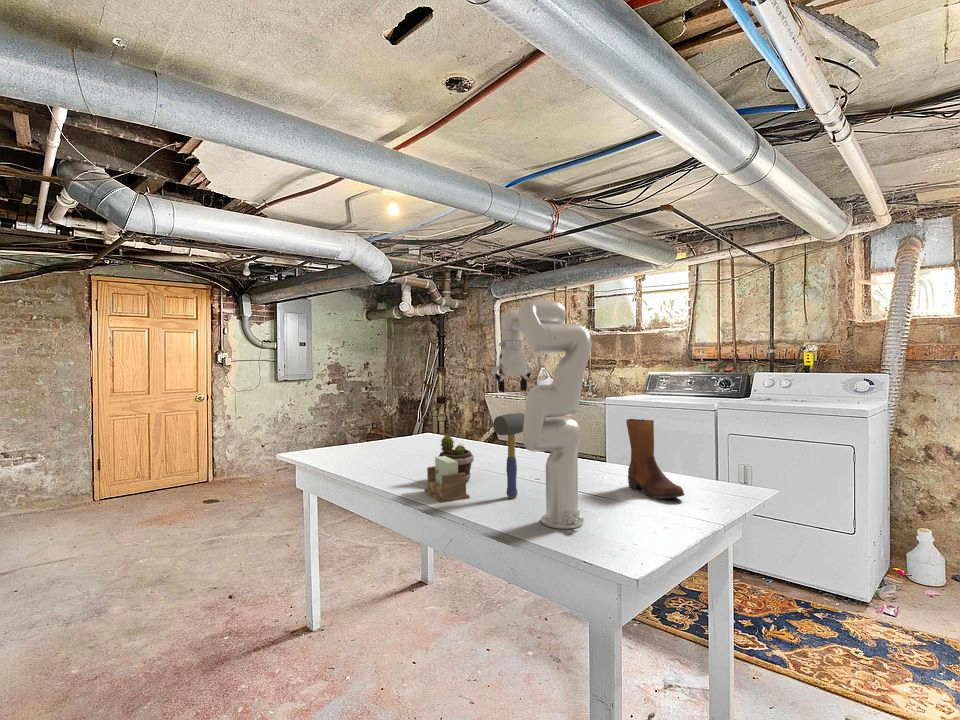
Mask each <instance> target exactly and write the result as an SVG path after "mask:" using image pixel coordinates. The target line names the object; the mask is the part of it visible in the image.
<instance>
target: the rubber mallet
mask: <svg viewBox="0 0 960 720" xmlns="http://www.w3.org/2000/svg"><path fill="white" fill-rule="evenodd" d="M524 415H525V413H522V412H520V413H519V412H517V413H516V412H515V413H507V414H502V415H499V416H497V417H495V418H494V420H493V422H492V423H493V424H492V425H493V426H492V427H493V431H494V432H495V434H496V435H497V436H501V437H502V436H507V458H506V476H507V477H506V478H507V482H506V485H507V487H506V496H507V497H508V498H509V499H516V498H517V496H518V489H517V473H518V468H517V467H518V465H517V459H516V442H515V441H516V440H515V439H516V438H515V435H517V434H520V433H523V424H524Z"/></svg>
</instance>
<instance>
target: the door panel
mask: <svg viewBox="0 0 960 720" xmlns="http://www.w3.org/2000/svg"><path fill="white" fill-rule="evenodd" d="M434 464H435V465H434V466H435V483H437V484H439V485H440V486H442V475H449V474H457V473H458V462H457V461H455V460H453V459H451V458H448V457H446V456H440V457H438V456H435V457H434Z"/></svg>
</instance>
